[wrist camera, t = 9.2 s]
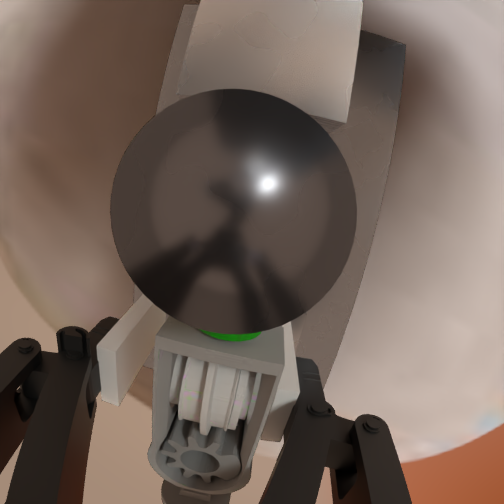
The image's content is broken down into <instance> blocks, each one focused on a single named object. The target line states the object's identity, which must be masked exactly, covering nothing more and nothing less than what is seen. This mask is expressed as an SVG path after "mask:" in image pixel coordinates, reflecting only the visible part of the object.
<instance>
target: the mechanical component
mask: <svg viewBox="0 0 504 504" xmlns="http://www.w3.org/2000/svg"><path fill="white" fill-rule="evenodd" d="M284 366H285V353H284V327H282V326H279V327H276V328H273V329H270V330H266V331H262V332H257V333H250V334H220V333H214V332H208V331H205V330H201V329H198V328H194V327H192V326H189V325H187V324H185V323H182V322H180V321H178V320H176V319H175V318H173V317H171V316H170V315H169V317H168V318H167V320H166V321H165V322H164V324H163V325H162V327H161V328H160V330H159V331H158V333H157V334H156V336H155V352H154V371H153V400H152V442H151V445H150V447H149V450H148V453H147V455H148V460H149V463H150V465H151V466H152V468H153V469H154V470H155V471H156V472H157V473H158V474H159V475H160V476H161V477H162V478H164V481H163V484H162V489H161V490H162V491H161V493H162V494H161V495H162V502H163V504H229V501H230V495H231V492H235V491H237V490H239V489H241V488H243V487H244V486H245V485H246V484H247V483H248V482H249V480H250V478H251V468H252V459H253V456H254V453H255V450H256V448H257V445H258V442H259V439H260V437H261V434H262V431H263V428H264V426H265V423H266V420H267V417H268V414H269V411H270V408H271V405H272V403H273V400H274V397H275V394H276V391H277V388H278V385H279V382H280V379H281V375H282V372H283V369H284Z"/></svg>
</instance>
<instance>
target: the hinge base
mask: <svg viewBox="0 0 504 504" xmlns="http://www.w3.org/2000/svg"><path fill="white" fill-rule="evenodd" d="M362 10H363V0H201V1H200V4H199V5H195V4H184V7H183V10H182V13H181V16H180V20H179V23H178V26H177V30H176V33H175V37H174V40H173V44H172V47H171V51H170V55H169V59H168V63H167V67H166V71H165V75H164V79H163V83H162V88H161V92H160V97H159V101H158V106H157V111H156V115H155V116H154V117H153V118H152V119H151V120H150V121H149V122H148V123H147V124H146V125H144V126H143V128H142V129H141V130H140V131H139V132H138V134H137V135H136V136H135V137H134V138H133V140H132V142H131V143H130V145H129V146H128V148H127V150H126V151H125V153H124V155H123V157H122V159H121V162H120V164H119V166H118V169H117V172H116V175H115V179H114V182H113V188H112V194H111V208H110V214H111V226H112V232H113V237H114V241H115V245H116V248H117V251H118V254H119V256H120V259H121V261H122V263H123V265H124V267H125V269H126V271H127V272H128V274H129V276H130V277H131V279H132V280H133V282H134V300H133V304H134V303H135V302H136V301H137V300H138V299H139V298H140V297H141V296H142V294H144V295H145V296H146V297H147V298H148V299H149V300H150V301H151V302H152V303H153V304H154V305H156V306H157V307H158V308H160V309H161V310H162V311H164V312H165V313H166V317H165V321H166V320H167V318H168V317H169V315H170V316H171V317H173V318H175V319H176V320H178V321H180V322H182V323H185V324H187V325H189V326H192V327H194V328H198V329H201V330H205V331H208V332H214V333H220V334H250V333H257V332H262V331H266V330H270V329H273V328H276V327H279V326H282V325H284V324H286V323H288V322H290V321H291V327H292V334H293V341H294V349H295V357H301V358H308V359H312V360H313V361H314V362H315V364H316V365H317V366H318V369H319V375H320V378H321V383H322V387H323V389H324V386H325V384H326V381H327V379H328V376H329V373H330V371H331V368H332V366H333V363H334V360H335V358H336V355H337V352H338V350H339V347H340V344H341V341H342V338H343V335H344V333H345V330H346V327H347V324H348V321H349V318H350V315H351V312H352V309H353V306H354V303H355V299H356V296H357V293H358V290H359V286H360V283H361V280H362V276H363V273H364V270H365V266H366V263H367V259H368V255H369V252H370V248H371V244H372V240H373V237H374V233H375V229H376V225H377V221H378V216H379V212H380V208H381V204H382V199H383V195H384V190H385V186H386V181H387V176H388V171H389V166H390V161H391V155H392V150H393V144H394V138H395V132H396V126H397V119H398V113H399V105H400V98H401V90H402V81H403V72H404V62H405V50H406V45H405V44H402V43H399V42H397V41H394V40H391V39H388V38H385V37H382V36H379V35H376V34H373V33H370V32H366V31H363V30H360V28H361V19H362ZM154 352H155V346H154V347H153V349H152V351H151V352H150V354H149V356H148V357H147V359H146V361H145V363H144V364H143V366H144V367H148V368H151V369H154Z"/></svg>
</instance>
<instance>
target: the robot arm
mask: <svg viewBox="0 0 504 504" xmlns="http://www.w3.org/2000/svg"><path fill="white" fill-rule="evenodd" d="M165 317H166V313H165V312H164V311H162V310H161V309H160V308H158V307H157V306H156V305H154V304H153V303H152V302H151V301H150V300H149V299H148V298H147V297H146V296H145V295H144V294H142V296H141V297H140V298H139V299H138V300H137V301H136V302H135V303H134V304H133V305H132V306H131V308H130V309H129V310H128V311H127V312H126V313H125V314H124V315H123V316H122V317H121V319H117V318H114V317H108V318H105V319H103V320H101V321H100V322H99V323H98V324H97V325H96V327H94V328H93V329H92V330H91V332H89V333H88V332H87V331H86V330H85V329H83V328H80V327H76V326H69V327H64V328H62V329H60V330H59V331H58V332H57V333H56V336H57V343H58V351H59V352H58V353H52V352H46V351H41V345H40V344H39V342H38V341H36V340H35V339H31V338H21V339H18V340H16V341H14V342H13V343H12V344H11V345H10V346H8V347H7V348H6V349H5V350H4V351H3V352H2V353H1V354H0V474H1V472H2V471H3V469H4V467H5V466H6V465H7V463H8V461H9V460H10V458H11V457H12V455H13V454H14V452H15V451H16V449H17V448H18V446H19V445H20V443H21V442H22V441H23V443H22V446H21V449H20V452H19V455H18V459H17V462H16V465H15V469H14V472H13V476H12V480H11V483H10V487H9V491H8V496H7V500H6V502H5V504H82V502H83V491H84V483H85V475H86V467H87V460H88V453H89V446H90V440H91V434H92V428H93V423H94V418H95V412H96V407H97V403H96V397H97V395H98V393H99V392H100V391H101V398H102V401H105V402H108V403H110V404H113V405H116V406H120V404H121V402H122V400H123V399H124V397H125V395H126V393H127V392H128V390H129V388H130V386H131V385H132V383H133V381H134V380H135V378H136V376H137V374H138V373H139V371H140V369H141V368H142V366H143V364H144V363H145V361H146V359H147V357H148V356H149V354H150V352H151V351H152V349H153V347H154V346H155V336H156V334H157V333H158V331H159V330H160V328H161V327H162V325H163V324H164V322H165ZM282 327H284V353H285V366H284V369H283V372H282V375H281V379H280V382H279V385H278V388H277V391H276V394H275V397H274V400H273V403H272V405H271V408H270V411H269V414H268V417H267V420H266V423H265V426H264V428H263V431H262V434H261V440H266V441H275V442H280V441H281V439H282V436H283V434H284V444H283V447H282V449H281V451H280V454H279V456H278V458H277V462H276V464H275V467H274V469H273V471H272V474H271V476H270V479H269V481H268V483H267V486H266V488H265V490H264V493H263V495H262V497H261V499H260V502H259V504H315V503H316V499H317V495H318V491H319V487H320V483H321V479H322V475H323V471H324V467H329V468H330V477H331V486H332V497H333V504H412V502H411V498H410V495H409V491H408V488H407V484H406V481H405V478H404V474H403V471H402V468H401V465H400V461H399V458H398V455H397V452H396V449H395V446H394V443H393V440H392V437H391V434H390V431H389V428H388V426H387V424H386V422H385V421H383V420H382V419H381V418H379V417H377V416H375V415H370V414H364V415H361V416H359V417H358V418H357V419H356V420H355V421H352V420H348V419H345V418H342V417H339V416H337V415H336V414H335V410H334V408H333V407H332V406H331V405H330V404H329V403H327V402H326V401H325V397H324V392H323V387H322V383H321V378H320V375H319V369H318V366H317V365H316V364H315V362H314V361H313V360H312V359H308V358H301V357H295V349H294V341H293V334H292V327H291V321H290V322H288V323H286V324H284V325H282ZM19 386H20V388H19V389H18V390H17V388H18V387H19ZM23 439H24V440H23Z"/></svg>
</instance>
